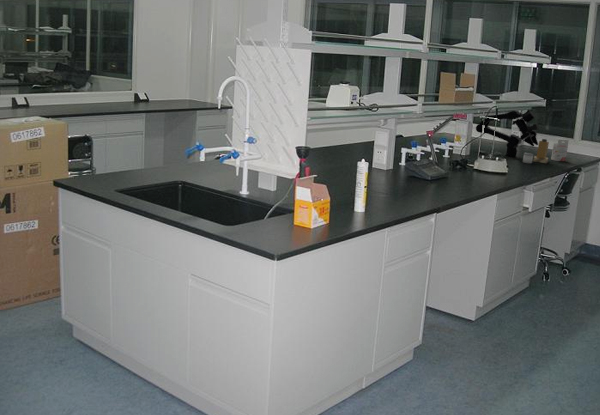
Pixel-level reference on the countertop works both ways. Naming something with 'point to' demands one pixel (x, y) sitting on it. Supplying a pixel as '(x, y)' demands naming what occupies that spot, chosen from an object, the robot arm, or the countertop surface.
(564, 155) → the ink cartridge box
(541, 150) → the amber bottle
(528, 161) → the white jar
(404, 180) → the countertop surface
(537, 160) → the beech block
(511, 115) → the robot arm
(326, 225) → the countertop surface
